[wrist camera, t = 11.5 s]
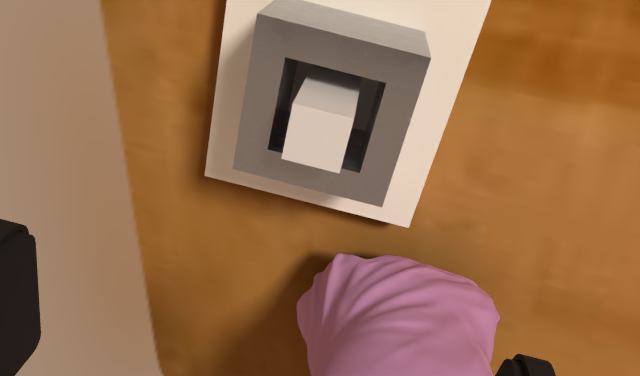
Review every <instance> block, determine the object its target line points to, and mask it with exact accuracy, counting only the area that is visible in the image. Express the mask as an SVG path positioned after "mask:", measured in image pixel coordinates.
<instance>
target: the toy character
mask: <svg viewBox="0 0 640 376" xmlns="http://www.w3.org/2000/svg"><path fill="white" fill-rule="evenodd" d="M499 320H500V316H499V313H498V312H497V310H496V308H495V305H494V302H493V300H492V298H491V297H490V296H489V295H488V294H487V293H486V292H485V291H483V290H482V289H480V288H479V287H478V286H477V285H476V283H475V282H474V281H472V280H470V279H468V278H466V277H463V276H461V275H458V274H455V273H451V272H449V271H446V270H442V269H438V268H436V267H433V266H431V265H428V264H423V263H419V262H417V261H414V260H412V259H409V258H404V257H400V256H395V255H382V256H378V257H375V258H372V259H364V258H361V257H358V256H355V255H350V254H343V253H338V254H336V256H335V257H334V258H333V261H331V262H330V263H329V264H328V266H327V267H326V269H325V270H324V271H323V272H320V273H317V274H316V275H315V277H314V281H313V286H312V287H311V288H310V289H309V290H308V291H307V292H305V293H304V294H303V295H302V297H301V298H300V299H299V301H298V302H297V321H298V325H299V328H300V331H301V334H302V336H303V338H304V340H305V342H306V344H307V358H308V365H309V369H310V373H311V376H493V373H492V371H491V367H490V361H491V358H492V354H493V347H494V336H495V330H496V325H497V323H498V321H499Z"/></svg>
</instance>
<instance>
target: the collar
mask: <svg viewBox="0 0 640 376" xmlns="http://www.w3.org/2000/svg"><path fill="white" fill-rule="evenodd" d="M298 60H299V61H302V62H306V63H310V64H314V65H318V66H322V67H326V68H330V69H334V70H338V71H341V72H345V73H349V74H353V75H357V76H361V77H365V78H369V79H373V80H376V81H380V82H379V85H378V88H377V92H376V95H375V99H374V102H373V106H372V109H371V113H370V116H369V120H368V123H367V127H366V130H365V131H363V130H359V129H355V128H352V129H351V133H350V136H349V140H348V144H347V147H346V151H345V155H344V158H343V162H342V166H341V170H340V173H335V172H331V171H327V170H323V169H319V168H316V167H312V166H308V165H304V164H300V163H296V162H292V161H288V160H284V159H281V158H282V153H283V148H284V143H285V138H286V134H287V129H288V124H289V119H290V114H291V112H289V111H288V107H289V102H290V97H291V92H292V87H293V82H294V77H295V72H296V68H297V63H298ZM430 61H431V55H430V51H429V47H428V43H427V39H426V35H425V31H421V30H417V29H413V28H409V27H405V26H401V25H397V24H393V23H389V22H386V21H382V20H378V19H374V18H370V17H366V16H362V15H358V14H354V13H350V12H346V11H343V10H339V9H335V8H331V7H327V6H323V5H319V4H315V3H311V2H307V1H304V0H274V1H272V2H271V3H270V4H268V5H267V6H266V7H265V8H263V9H262V10H261V11H259V12H258V13H257V17H256V23H255V29H254V36H253V42H252V48H251V55H250V61H249V67H248V74H247V80H246V86H245V93H244V99H243V105H242V112H241V118H240V125H239V131H238V137H237V144H236V150H235V156H234V163H233V169H234V170H238V171H242V172H246V173H250V174H254V175H258V176H261V177H265V178H269V179H273V180H277V181H281V182H285V183H289V184H292V185H296V186H300V187H304V188H308V189H312V190H316V191H320V192H324V193H327V194H331V195H335V196H339V197H343V198H347V199H351V200H355V201H359V202H362V203H366V204H370V205H374V206H378V207H382V206H383V203H384V200H385V197H386V194H387V191H388V188H389V185H390V182H391V179H392V176H393V173H394V170H395V167H396V164H397V161H398V158H399V155H400V152H401V148H402V145H403V142H404V139H405V136H406V133H407V130H408V127H409V124H410V121H411V118H412V115H413V112H414V109H415V106H416V103H417V100H418V97H419V94H420V91H421V88H422V85H423V82H424V79H425V76H426V73H427V70H428V67H429V64H430Z"/></svg>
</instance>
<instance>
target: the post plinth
mask: <svg viewBox="0 0 640 376" xmlns="http://www.w3.org/2000/svg"><path fill="white" fill-rule="evenodd" d="M272 1H274V0H227V3H226V11H225V19H224V26H223V34H222V42H221V50H220V58H219V66H218V74H217V82H216V90H215V97H214V105H213V113H212V121H211V129H210V137H209V145H208V153H207V161H206V168H205V176H207V177H211V178H215V179H219V180H223V181H227V182H231V183H235V184H239V185H243V186H247V187H250V188H254V189H258V190H262V191H266V192H270V193H274V194H278V195H282V196H286V197H290V198H293V199H297V200H301V201H305V202H309V203H313V204H317V205H321V206H325V207H329V208H333V209H337V210H340V211H344V212H348V213H352V214H356V215H360V216H364V217H368V218H372V219H376V220H380V221H383V222H387V223H391V224H395V225H399V226H403V227H407V228H409V225H410V222H411V220H412V217H413V214H414V211H415V209H416V206H417V203H418V200H419V198H420V195H421V192H422V189H423V187H424V184H425V181H426V178H427V176H428V173H429V170H430V167H431V165H432V162H433V159H434V156H435V154H436V151H437V148H438V145H439V143H440V140H441V137H442V134H443V132H444V129H445V126H446V123H447V121H448V118H449V115H450V113H451V110H452V107H453V104H454V102H455V99H456V96H457V93H458V91H459V88H460V85H461V82H462V80H463V77H464V74H465V71H466V69H467V66H468V63H469V60H470V58H471V55H472V52H473V49H474V47H475V44H476V41H477V38H478V36H479V33H480V30H481V27H482V25H483V22H484V19H485V17H486V14H487V11H488V8H489V6H490V3H491V0H304V1H307V2H311V3H315V4H319V5H323V6H327V7H331V8H335V9H339V10H343V11H346V12H350V13H354V14H358V15H362V16H366V17H370V18H374V19H378V20H382V21H386V22H389V23H393V24H397V25H401V26H405V27H409V28H413V29H417V30H421V31H425V35H426V39H427V43H428V47H429V51H430V55H431V61H430V64H429V67H428V70H427V73H426V76H425V79H424V82H423V85H422V88H421V91H420V94H419V97H418V100H417V103H416V106H415V109H414V112H413V115H412V118H411V121H410V124H409V127H408V130H407V133H406V136H405V139H404V142H403V145H402V148H401V152H400V155H399V158H398V161H397V164H396V167H395V170H394V173H393V176H392V179H391V182H390V185H389V188H388V191H387V194H386V197H385V200H384V203H383V206H382V207H378V206H374V205H370V204H366V203H362V202H359V201H355V200H351V199H347V198H343V197H339V196H335V195H331V194H327V193H324V192H320V191H316V190H312V189H308V188H304V187H300V186H296V185H292V184H289V183H285V182H281V181H277V180H273V179H269V178H265V177H261V176H258V175H254V174H250V173H246V172H242V171H238V170H234V169H233V163H234V156H235V150H236V144H237V137H238V131H239V125H240V118H241V112H242V105H243V99H244V93H245V86H246V80H247V74H248V67H249V61H250V55H251V48H252V42H253V36H254V29H255V23H256V17H257V13H258V12H259V11H261V10H262V9H263V8H265V7H266V6H267V5H268V4H270V3H271V2H272ZM379 82H380V81H376V80H373V79H369V78H365V77H361V76H357V75H353V74H349V73H345V72H341V71H338V70H334V69H330V68H326V67H322V66H318V65H314V64H310V63H306V62H302V61H299V60H298V63H297V68H296V72H295V77H294V82H293V87H292V92H291V97H290V102H289V107H288V111H289V112H291V114H290V119H289V124H288V129H287V134H286V138H285V143H284V148H283V153H282V158H281V159H284V160H288V161H292V162H296V163H300V164H304V165H308V166H312V167H316V168H319V169H323V170H327V171H331V172H335V173H340V170H341V166H342V162H343V158H344V155H345V151H346V147H347V144H348V140H349V136H350V133H351V129H352V128H355V129H359V130H363V131H365V130H366V127H367V123H368V120H369V116H370V113H371V109H372V106H373V102H374V99H375V95H376V92H377V88H378V85H379Z"/></svg>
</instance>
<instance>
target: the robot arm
mask: <svg viewBox="0 0 640 376" xmlns="http://www.w3.org/2000/svg"><path fill="white" fill-rule="evenodd" d="M36 259H37V258H36V242H35V238H34V236H33V235H29V232H28V229H27V227H26V226H24V225H21V224H18V223H14V222H10V221H6V220H2V219H0V376H15V375H16V373H17V372H18V371H19V370H20V368H21V367H22V366H23V365H24V363H25V362H26V361H27V360H28V358H29V357H30V356H31V355H32V353H33V352H34V350H35V349H36V347H37V345H38V343H39V340H40V336H41V330H40V329H41V327H40V312H39V311H40V310H39V293H38V276H37V260H36ZM495 376H556V375H555V372H554V369H553V367H552V365H551V364H550V363H549V362H548V361H545V360H541V359H537V358H533V357H529V356H526V355H522V354H517V355H516V356H515V357H514V358H513V359H512V360H510V359H506V360H504V362H503V363H502V365H501V366H500V368H499V370H498V372H497V374H496V375H495Z"/></svg>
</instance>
